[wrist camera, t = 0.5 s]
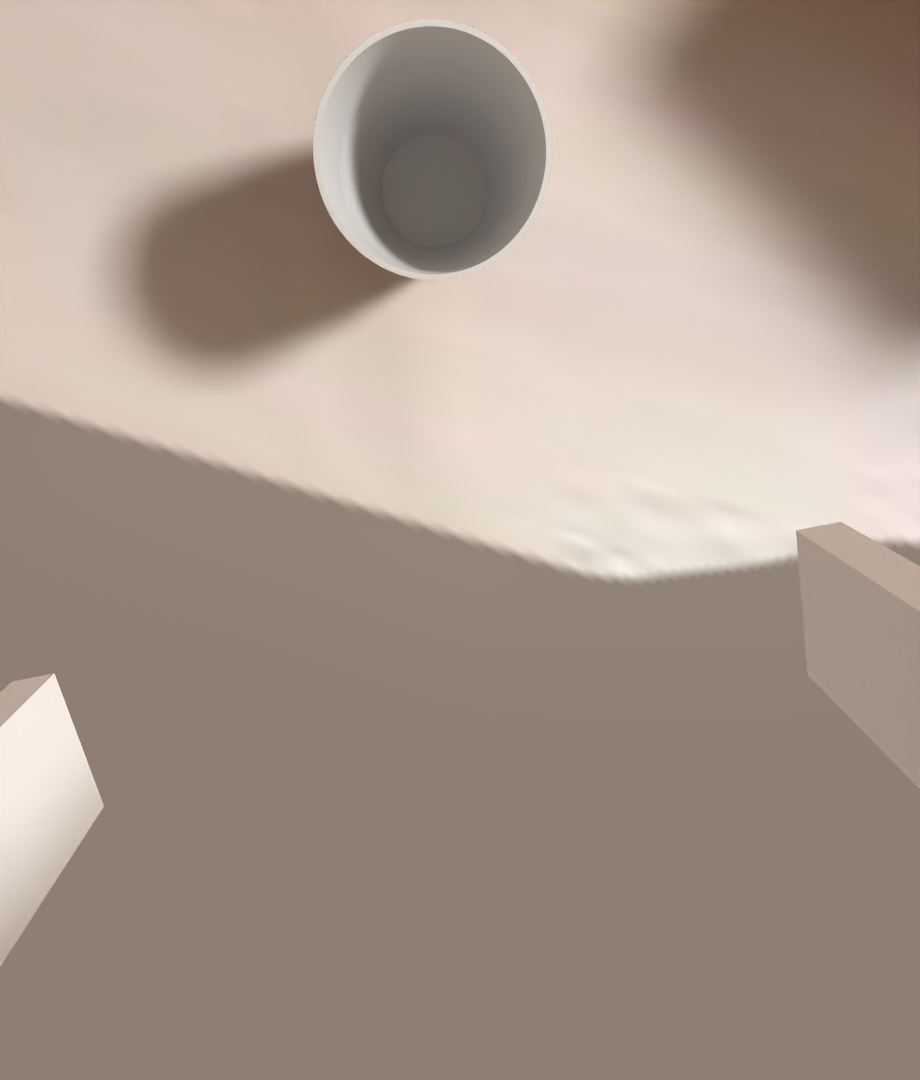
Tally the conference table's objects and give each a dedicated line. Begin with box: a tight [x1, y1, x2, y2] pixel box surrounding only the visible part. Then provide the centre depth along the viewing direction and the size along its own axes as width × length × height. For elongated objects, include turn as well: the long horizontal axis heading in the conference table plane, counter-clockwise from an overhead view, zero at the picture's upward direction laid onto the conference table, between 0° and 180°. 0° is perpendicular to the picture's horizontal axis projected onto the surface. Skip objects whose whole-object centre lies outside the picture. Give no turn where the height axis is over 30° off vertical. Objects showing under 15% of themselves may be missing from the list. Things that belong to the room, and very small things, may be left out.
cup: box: [313, 19, 552, 280], centre depth 33 cm, size 8×8×10 cm
